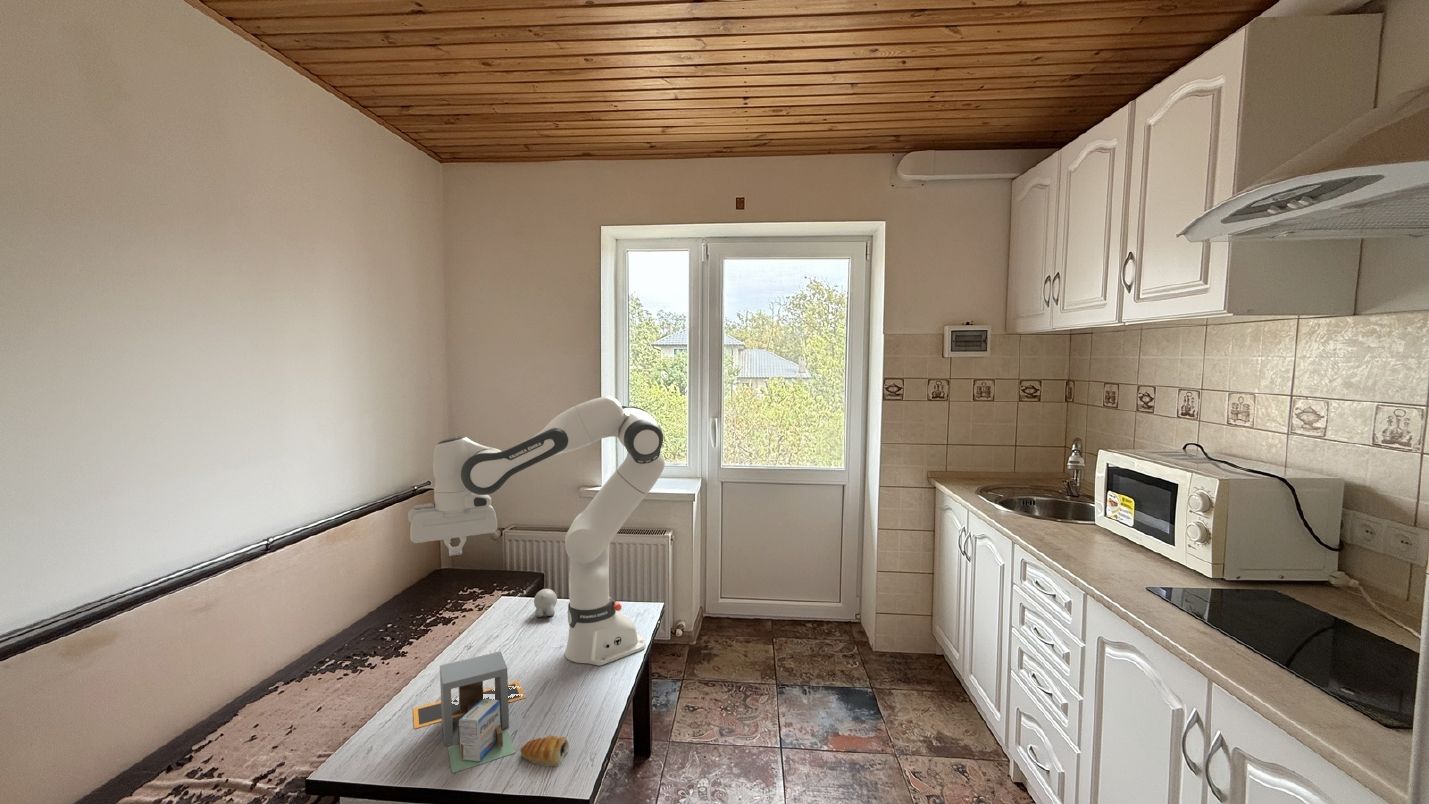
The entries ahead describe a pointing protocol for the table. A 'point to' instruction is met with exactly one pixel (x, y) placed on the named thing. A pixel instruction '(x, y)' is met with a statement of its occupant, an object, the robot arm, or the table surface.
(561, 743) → the pastry
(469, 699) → the block
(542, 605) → the round bodied animal figurine
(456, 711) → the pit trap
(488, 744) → the medicine box
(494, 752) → the pad
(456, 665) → the tunnel
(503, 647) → the table surface
